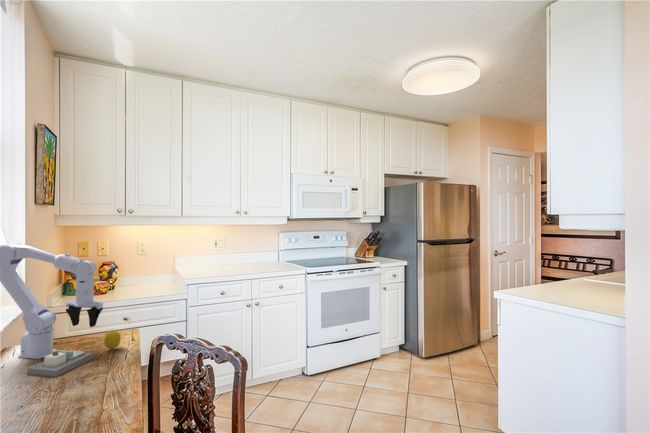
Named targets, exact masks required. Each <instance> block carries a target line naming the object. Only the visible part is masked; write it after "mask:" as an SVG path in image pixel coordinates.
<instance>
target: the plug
mask: <svg viewBox="0 0 650 433" xmlns="http://www.w3.org/2000/svg"><path fill="white" fill-rule="evenodd" d="M43 359H44V366H46V367H56V366H59V365H61V364H63V363H65V362H66V353H60V352H58V351H54V352H53V353H52V354H50V355H48V356H45V357H43Z"/></svg>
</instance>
